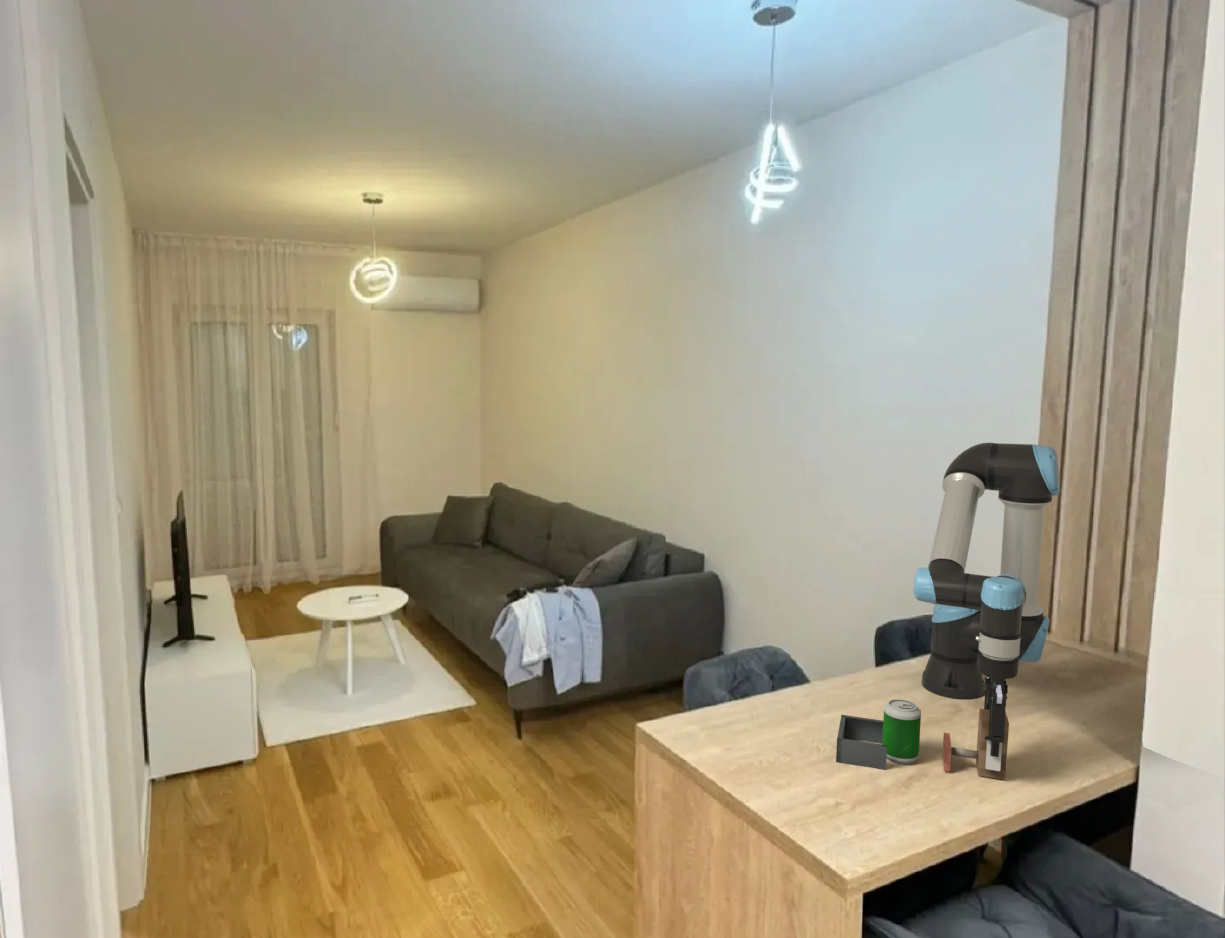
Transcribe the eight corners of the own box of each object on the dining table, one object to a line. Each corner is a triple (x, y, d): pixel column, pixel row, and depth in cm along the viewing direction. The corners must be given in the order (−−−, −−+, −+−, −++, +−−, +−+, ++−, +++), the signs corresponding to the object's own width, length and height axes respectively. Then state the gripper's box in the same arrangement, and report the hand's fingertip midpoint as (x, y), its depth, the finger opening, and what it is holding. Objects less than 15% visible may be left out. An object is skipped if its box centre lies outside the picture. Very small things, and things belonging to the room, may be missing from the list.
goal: (887, 742, 181) (888, 721, 181) (886, 770, 169) (887, 747, 169) (840, 735, 185) (841, 714, 184) (836, 762, 173) (836, 739, 172)
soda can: (921, 768, 170) (924, 713, 168) (883, 764, 172) (886, 710, 170) (915, 751, 177) (918, 699, 176) (879, 748, 179) (882, 696, 177)
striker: (1001, 764, 171) (1005, 710, 169) (1005, 781, 164) (1009, 724, 163) (942, 755, 175) (945, 702, 173) (943, 771, 168) (947, 716, 167)
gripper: (974, 636, 175) (967, 737, 179) (982, 669, 157) (975, 780, 160) (1012, 640, 173) (1005, 742, 176) (1025, 674, 155) (1017, 787, 158)
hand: (990, 760), depth 168 cm, fingers open, 7 cm apart
